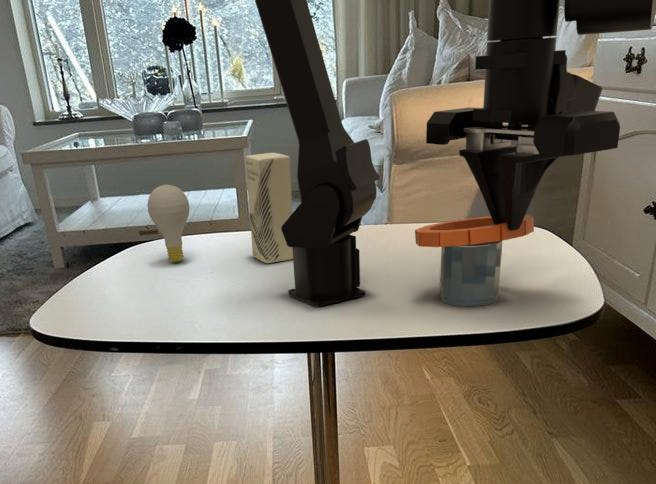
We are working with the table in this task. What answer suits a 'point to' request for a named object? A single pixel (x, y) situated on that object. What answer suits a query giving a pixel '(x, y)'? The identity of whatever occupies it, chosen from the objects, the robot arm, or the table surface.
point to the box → (269, 205)
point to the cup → (470, 274)
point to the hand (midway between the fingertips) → (507, 228)
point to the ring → (469, 232)
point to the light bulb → (169, 217)
